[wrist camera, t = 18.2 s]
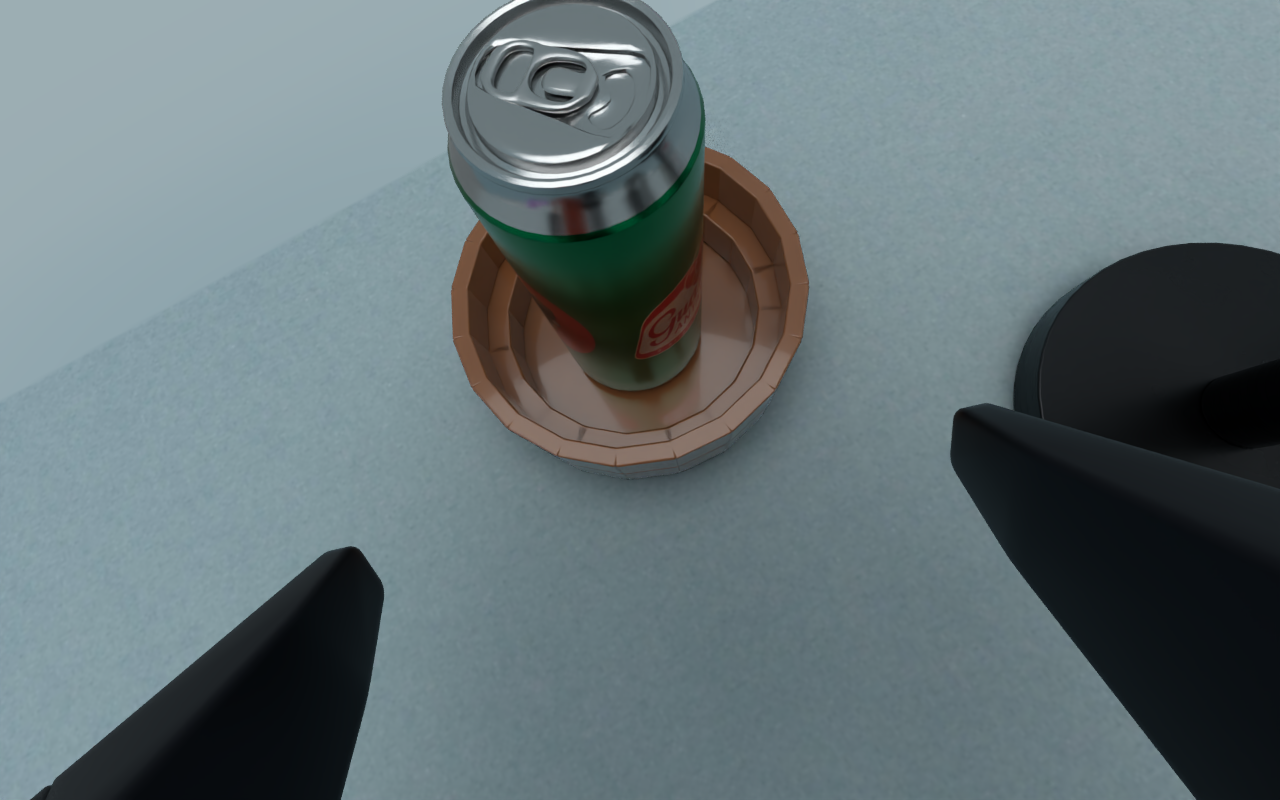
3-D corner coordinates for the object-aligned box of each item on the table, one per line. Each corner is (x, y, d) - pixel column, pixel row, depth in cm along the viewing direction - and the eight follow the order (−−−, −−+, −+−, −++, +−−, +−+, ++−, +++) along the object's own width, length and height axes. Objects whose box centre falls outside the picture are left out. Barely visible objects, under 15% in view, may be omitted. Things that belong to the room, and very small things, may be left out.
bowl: (836, 272, 21) (868, 210, 17) (699, 537, 19) (700, 537, 15) (586, 166, 24) (563, 90, 20) (442, 393, 22) (384, 360, 18)
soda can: (677, 412, 20) (649, 240, 8) (552, 373, 21) (372, 168, 9) (718, 291, 21) (743, -10, 9) (597, 258, 22) (485, -54, 10)
